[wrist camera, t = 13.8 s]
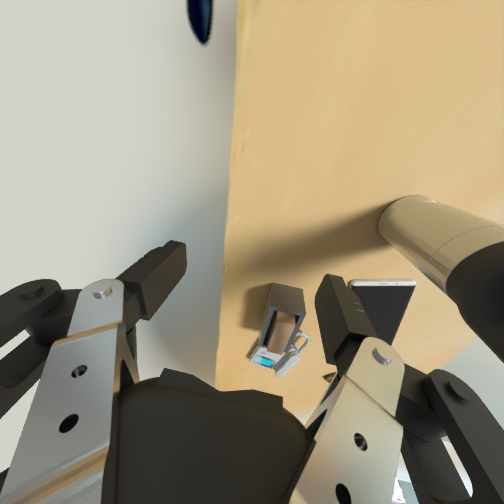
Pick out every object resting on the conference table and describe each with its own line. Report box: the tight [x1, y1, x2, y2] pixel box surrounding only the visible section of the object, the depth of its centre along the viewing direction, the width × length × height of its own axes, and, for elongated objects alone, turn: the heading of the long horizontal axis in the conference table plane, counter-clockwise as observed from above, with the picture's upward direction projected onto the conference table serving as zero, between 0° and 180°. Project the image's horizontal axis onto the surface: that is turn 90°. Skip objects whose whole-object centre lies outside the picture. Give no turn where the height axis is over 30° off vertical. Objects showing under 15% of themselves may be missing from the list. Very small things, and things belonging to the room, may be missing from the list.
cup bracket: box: [258, 283, 306, 353], centre depth 47 cm, size 8×16×8 cm, turn 171°
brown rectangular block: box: [267, 311, 296, 355], centre depth 44 cm, size 4×12×5 cm, turn 171°
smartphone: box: [350, 279, 416, 346], centre depth 48 cm, size 13×27×2 cm, turn 8°
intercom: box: [249, 332, 310, 377], centre depth 58 cm, size 13×4×25 cm
